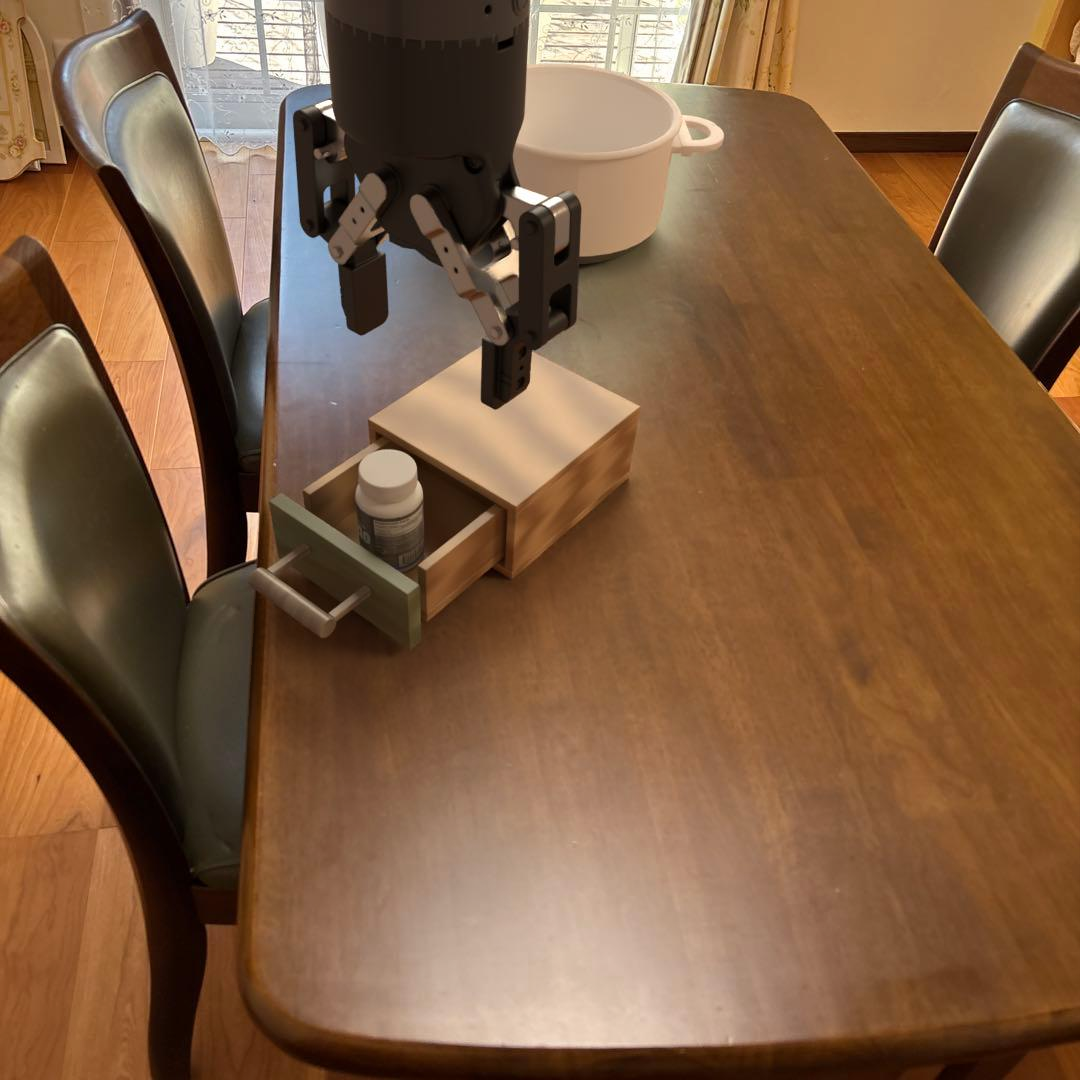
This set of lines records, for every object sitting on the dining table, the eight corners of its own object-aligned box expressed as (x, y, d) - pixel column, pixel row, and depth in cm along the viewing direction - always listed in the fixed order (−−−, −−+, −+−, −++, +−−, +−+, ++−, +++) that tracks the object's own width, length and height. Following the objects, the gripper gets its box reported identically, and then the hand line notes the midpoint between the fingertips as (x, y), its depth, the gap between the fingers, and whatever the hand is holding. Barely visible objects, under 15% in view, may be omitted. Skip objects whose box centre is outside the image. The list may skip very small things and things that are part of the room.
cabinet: (511, 580, 77) (516, 507, 72) (372, 492, 83) (367, 418, 78) (629, 478, 86) (640, 406, 81) (496, 405, 92) (498, 333, 87)
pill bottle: (358, 533, 77) (350, 447, 71) (421, 527, 78) (418, 442, 72) (362, 579, 74) (354, 493, 68) (427, 573, 74) (425, 487, 68)
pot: (688, 182, 125) (708, 68, 116) (723, 284, 109) (750, 160, 99) (416, 174, 123) (413, 55, 113) (411, 277, 106) (407, 149, 97)
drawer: (358, 695, 68) (352, 639, 64) (225, 595, 73) (211, 538, 69) (539, 539, 79) (544, 483, 75) (412, 463, 84) (410, 407, 80)
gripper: (216, -34, 38) (270, 336, 49) (514, 78, 32) (497, 467, 44) (361, -70, 42) (380, 277, 54) (646, 22, 37) (599, 389, 48)
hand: (432, 362), depth 49 cm, fingers open, 8 cm apart
